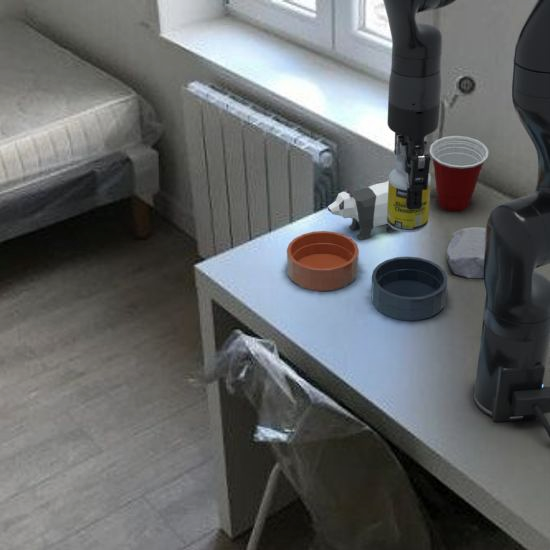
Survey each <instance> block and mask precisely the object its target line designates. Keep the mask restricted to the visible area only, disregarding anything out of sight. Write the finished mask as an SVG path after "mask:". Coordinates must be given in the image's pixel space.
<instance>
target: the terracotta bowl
mask: <svg viewBox="0 0 550 550" xmlns="http://www.w3.org/2000/svg"><path fill="white" fill-rule="evenodd" d="M359 255H360V250H359V247H358V244H357V243H356V242H355V241H354V239H352V238H351V237H349V236H347V235H346V234H343V233H340V232H336V231H329V230H319V231H318V230H317V231H310V232H307V233H306V232H305V233H303V234H301V235H298V236H296V237H294V238H293V239H292V240H291V241H290V243H288V246H287V248H286V268H287V269H286V270H287V275H288V277H289V278H290V280H291V282H293V283H295V284H296V285H298V286H300V287H302V288H304V289H307V290H311V291H318V292H329V291H335V290H339V289H341V288H344V287H347V286H348V285H349V284H351V283H353V281H354V280H355V279H356V278H357V276H358V273H359V259H360V258H359Z"/></svg>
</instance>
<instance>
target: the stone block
mask: <svg viewBox="0 0 550 550" xmlns="http://www.w3.org/2000/svg"><path fill="white" fill-rule="evenodd" d="M485 234H486V227H477V226H472V227H465V228H463V227H462V228H461V229H458V230H456V231H455V232H453V233H452V238H451V240H450V241H449V243H448V246H447V250H446V256H447V257H446V258H447V263H448V266H449V268H450V270H451V272H452V273H453V274H454V275H455V276H461V277H464V278H466V279H484V274H483V271H484V254H485Z"/></svg>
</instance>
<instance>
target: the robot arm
mask: <svg viewBox="0 0 550 550" xmlns="http://www.w3.org/2000/svg"><path fill="white" fill-rule="evenodd" d="M382 1H383V5H384V9H385V13H386V16H387V21H388V26H389V32H390V36H391V43H392V44H391V67H390V75H389V79H388V97H387V99H388V100H387V101H388V103H387V121H386V122H387V127H388V129H389V130H390V131H392V132H394V149H393V153H394V155H395V156H397V155H398V154H400V153H401V154H402V164H403V172H404V173H406V176H407V184H406V185H407V198H406V206H407V208H408V209H419V208H421V203H422V190H427V187H428V176H429V174H430V164H431V154H430V153H429V154H427V152H429V151H428V150H429V149H428V148H429V147H428V141H427V140H425V137H427V136H429V135H430V134H433V133H434V132H436V130H437V129H438V127H439V122H440V107H441V94H442V74H441V73H442V72H441V67H442V54H443V35H442V32H441V30H440V29H439V28H438V27H437V26H436V25H432V24H430V23H423V22H417V18H416V16H417V14H419V13H423V12H428V11H433V10H439V9H442V8H445V7H448V6H449V5H452V4H453V3H455V2H456V1H457V0H382ZM530 10H531V11H530V12H529V13H528V16H527V17H526V19H525V21H524V23H523V25H522V27H521V29H520V31H519V33H518V36H517V38H516V42H515V45H514V52H513V60H512V73H511V74H512V75H511V91H510V95H511V102H512V106H513V109H514V111H515V114H516V115H517V118H518V120H519V121H520V123H521V125H522V127H523V128H524V130H525V132H526V133H527V135H528V136H529V138H530V140H531V142H532V144H533V146H534V148H535V150H536V155H537V180H536V186H535V189H534V192H533V193H530V194H527V195H524V196H521V197H517V198H514V199H512V200H511V199H510V200H508V201H505V202H503V203H499V204H497V205H496V206H495V207H493V209H492V210H491V211H490V213H489V216H488V217H487V221H486V227H485V228H486V234H485V254H484V271H483V274H484V278H483V283H484V287H485V303H484V311H483V319H482V327H481V333H480V343H479V351H478V359H477V367H476V377H475V386H474V389H473V400H474V402H475V404H476V406H477V407H478V408H479V410H481V411H482V412H483V413H485V414H487V415H488V416H490V417H491V418H492V420H493V422H495V423H498V422H499V423H500V422H510V421H522V420H533V419H537V418H538V419H539V421H540V423H541V424H542V426H543V428H544V429H545V432H546V433H547V435H548V437H549V438H550V423H549V422H548V420H547V418H546V416H545V415H544V414H550V386H544V379H545V373H546V364H547V359H548V354H549V347H550V279H549V278H548V277H547V276H545V275H543V274H542V273H539V272H537V271H535V269H538V268H540V267H543V266H546V265H549V264H550V0H536V1H535V4H534V5H533V7H532V9H530ZM407 163H408V164H411V168H410V167H408V165H407ZM416 178H420V180H415V179H416Z"/></svg>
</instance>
